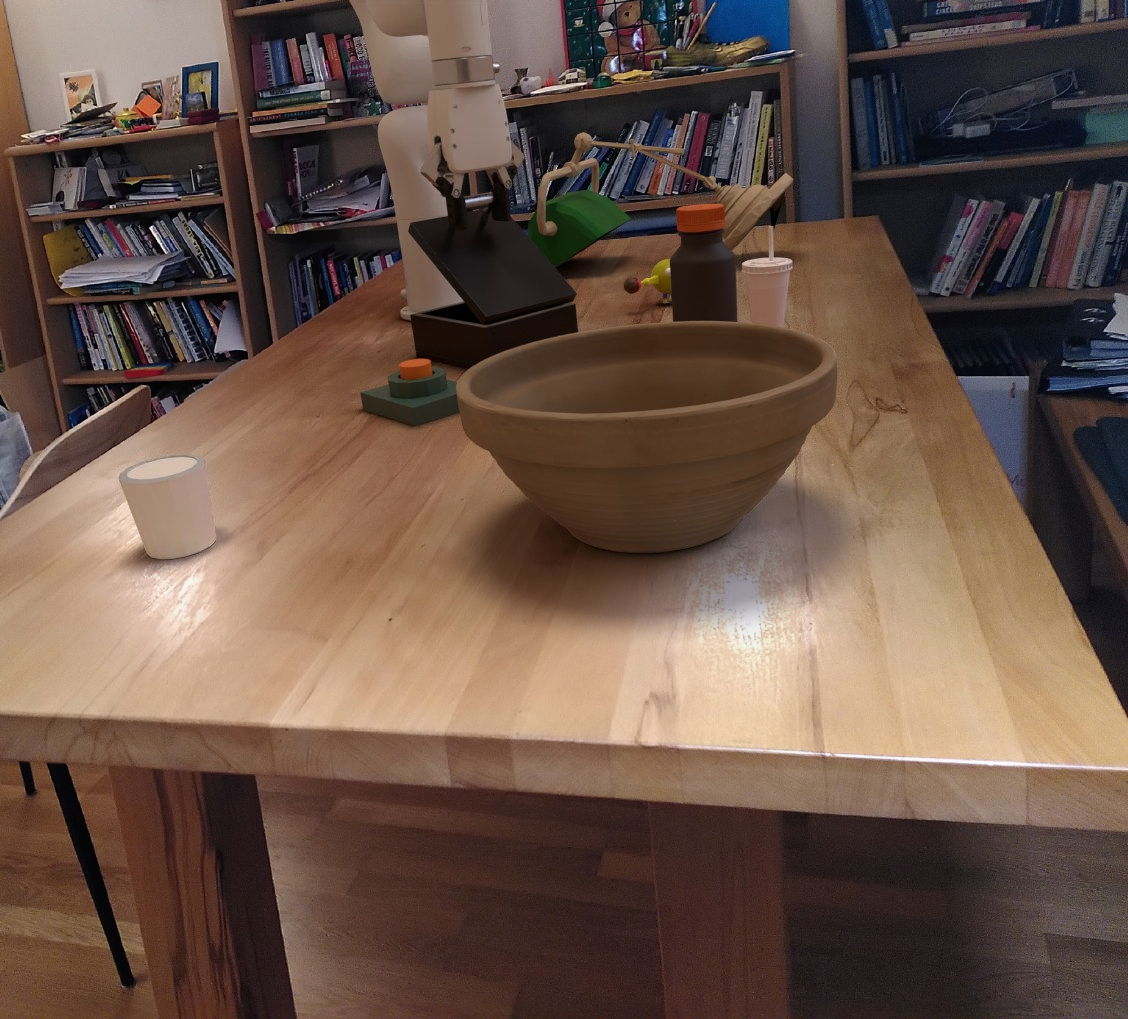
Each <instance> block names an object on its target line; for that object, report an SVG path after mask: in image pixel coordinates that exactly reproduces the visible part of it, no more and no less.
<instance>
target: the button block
mask: <svg viewBox="0 0 1128 1019" xmlns="http://www.w3.org/2000/svg"><path fill="white" fill-rule="evenodd" d="M431 367H432V374H433V375H432V376H429V377H425V378H420V379H413V380H403V379H401V376H400V370H399V371H395V372H393V373H392V374H390V375H388V376H387V383H388V384H384V385H381V386H377V387H373V388H371V389H368V390H364V391H361V392H360V394H359V395H360V399H361V404H362V411H365V412H368V413H372V414H375V415H377V416H381V417H384V418H387V419H391V420H394V421H397V422H400V423H403V424H406V425H409V426H413V427H418V426H420V425H424V424H427V423H430V422H433V421H437V420H439V419H443V418H446V417H449V416H452V415H456V414H460V411H459V406H458V401H457V391H456V384H457V382H458V381H455V380H451V379H447V372H446V370H445V368H442V367H437V366H431Z"/></svg>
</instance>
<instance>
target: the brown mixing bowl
mask: <svg viewBox="0 0 1128 1019" xmlns="http://www.w3.org/2000/svg"><path fill="white" fill-rule="evenodd" d="M456 382H457V384H456V391H457V401H458V406H459V411H460V412H459V416H460V420H461V426H462V430H463V432H464V434H465V436H466V437H467V438H468V439H469V440H470V442H472V443H473V444H475V445H476V446H477V447H479V448H481V449H483V450H485V451H487V452H489V453H490V455H491V457H492V459H494V460H495V462H496V464H497V466H498V467H499V468H500V469H501V470H502V472H503V473H504V475H505V476H506V477H507V479H509V480H510V481H511V482H512V483H513V484H514V485H515V486H516V487H517V488H518V489H519V490H520V492H521V493H523V495H524V496H525V497H527V498H528V499H529V500H530V501H531V502H532V503H533V504H534V505H536V506H537V508H539V509H540V510H541V511H542V512H543V513H545V514H546V515H547V516H548V517H550V518H551V519H552V520H554V521H555V522H556V523H558V524H559V525H560V526H562V527H563V528H565V529H566V530H567V531H568V533H570V535H572V536H573V537H574V538H575V539H577V540H578V541H580V542H581V543H584V544H585V545H588V546H591V547H593V548H597V549H601V550H606V551H611V552H618V553H627V554H628V553H629V554H653V553H666V552H673V551H678V550H684V549H689V548H694V547H697V546H700V545H703V544H707V543H711V542H712V541H714V540H717V539H720V538H721V537H723V536H725V535H726V534H728V533H730V532H731V531H733V530H734V529H735V528H736V527H737V526H739V524H740V523H741V522H742V521H743V519H744V517H745V516H746V515H747V514H748V513H749V512H751V510H752V509H753V508H754V507H755V506H757V505H758V504H759V503H760V502H761V501H762V499H763V498H764V497H765V496H767V494H769V492H770V491H771V490H772V488H774V486H775V485H776V484H777V483H778V482H779V480H780V479H781V478H782V477H783V475H785V473H786V471H787V469H788V468H789V467H790V466H791V464H792V463H793V462H794V460H795V459H796V457H798V455H799V454H800V453H801V449H802V447H803V446H804V445H805V443H806V441H807V437H808V435H809V434H810V433H811V431H812V429H813V426H815V425H817V424H819V422H821V421H822V420H824V418H826V417H827V416H828V414H829V413H830V412H831V411H832V409H833V408H834V406H835V402H836V399H837V385H838V384H837V383H838V355H837V352H836V350H835V349H834V348H833V346H832V345H830V344H829V343H828V342H827V341H825V340H824V339H821V338H820V337H818V336H816V335H812V334H810V333H807V332H804V331H801V330H797V329H792V328H788V327H785V326H784V327H779V326H774V325H767V324H757V323H752V322H743V321H738V322H725V321H682V322H673V321H660V322H659V321H658V322H646V323H635V324H626V325H618V326H609V327H603V328H597V329H588V330H583V331H578V332H577V333H572V334H567V335H562V336H557V337H553V338H548V339H544V340H540V341H536V342H532V343H529V344H526V345H522V346H519V347H516V348H513V349H510V350H507V351H504V352H501V353H499V354H496V355H494V356H492V357H489V358H487V359H485V360H483V361H481V362H479V363H478V364H476V365H474V366H473V367H471V368H470V369H466V371H465V372H464V373H463V374H462V375H461V376H460V377H459V378H458V380H457V381H456Z"/></svg>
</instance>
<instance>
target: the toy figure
mask: <svg viewBox="0 0 1128 1019" xmlns="http://www.w3.org/2000/svg"><path fill="white" fill-rule="evenodd" d="M642 285H643V286H645V287H648V286H650V285H653V287H654V288H655V289H656V291H658V292H660V293H661V294H662V305H663V306H664V305H665V306H668V305H672V294H671V275H670V258H665V259H662V260H660V261H658V262H657V263H656V264H655V265H654V266H653V268H652V270H651V276H650V277H649V278H648V277H646V278H644V279H643V280H641V281H640V279H639V278H637V277H633V276H632V277H628V278H626V279H625V280H624V282H623V289H624V291H625V292H626V293H627V294H630V295H633V294H636V293H638V292H639V291H640V290H641V287H642ZM668 295H670V301H668Z"/></svg>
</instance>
